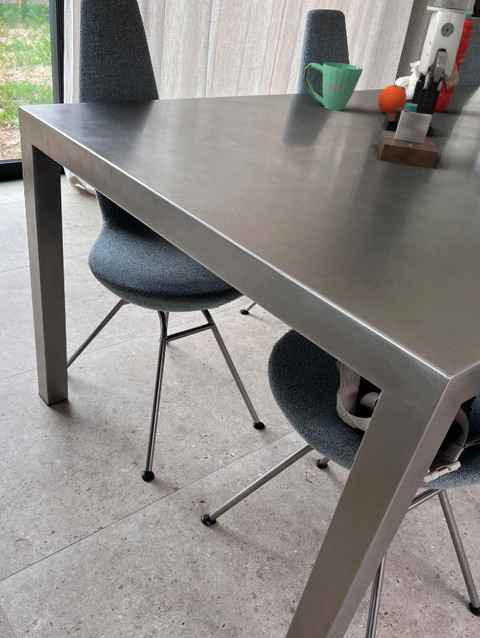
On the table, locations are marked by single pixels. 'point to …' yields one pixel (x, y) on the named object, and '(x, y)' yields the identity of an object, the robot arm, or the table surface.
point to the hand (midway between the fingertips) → (421, 108)
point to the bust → (410, 80)
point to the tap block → (406, 151)
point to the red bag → (455, 67)
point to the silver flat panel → (412, 126)
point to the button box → (393, 120)
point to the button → (410, 107)
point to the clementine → (392, 99)
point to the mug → (334, 83)
